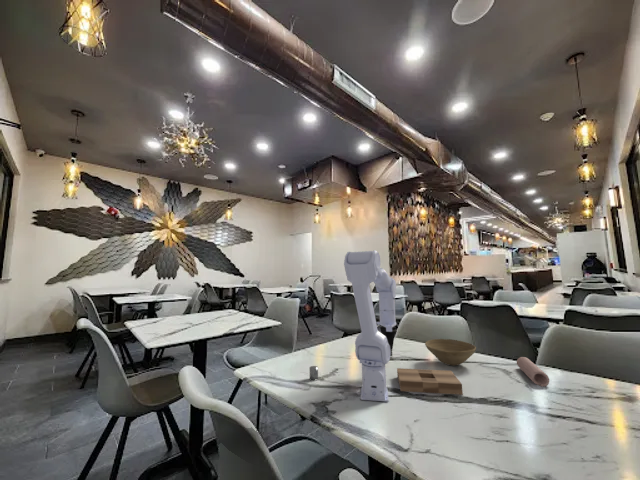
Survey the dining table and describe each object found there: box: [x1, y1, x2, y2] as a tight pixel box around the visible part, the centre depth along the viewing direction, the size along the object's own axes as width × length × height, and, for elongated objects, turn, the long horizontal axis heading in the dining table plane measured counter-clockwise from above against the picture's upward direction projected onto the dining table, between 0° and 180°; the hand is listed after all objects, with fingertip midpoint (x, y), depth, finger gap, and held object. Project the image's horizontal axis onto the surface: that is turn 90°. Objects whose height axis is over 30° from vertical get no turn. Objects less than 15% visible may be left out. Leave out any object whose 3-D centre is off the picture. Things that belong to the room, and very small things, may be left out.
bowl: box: [424, 338, 477, 367], centre depth 112 cm, size 18×18×8 cm
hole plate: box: [396, 367, 463, 395], centre depth 91 cm, size 12×18×3 cm, turn 79°
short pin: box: [309, 365, 319, 381], centre depth 99 cm, size 3×3×4 cm
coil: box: [516, 356, 550, 387], centre depth 97 cm, size 5×5×18 cm
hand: (388, 348), depth 102 cm, fingers closed on tall pin, 3 cm apart
